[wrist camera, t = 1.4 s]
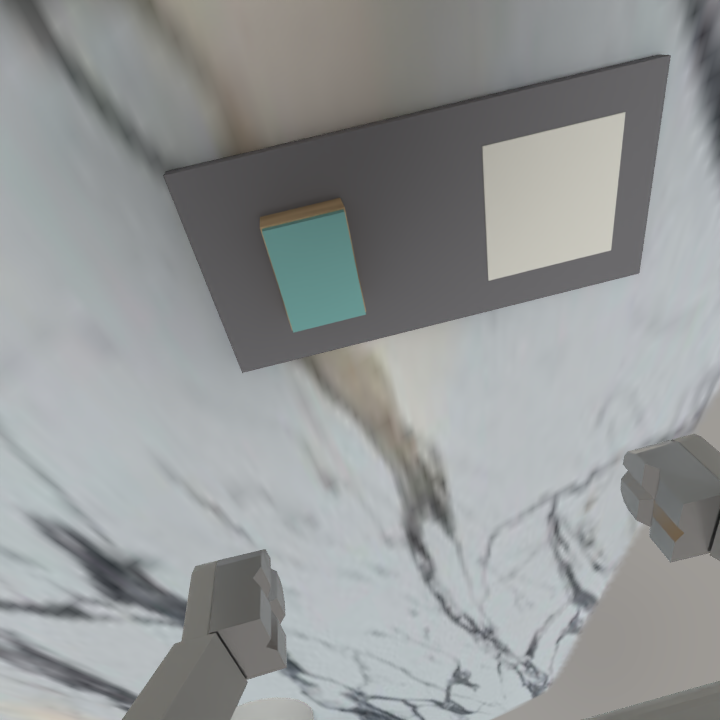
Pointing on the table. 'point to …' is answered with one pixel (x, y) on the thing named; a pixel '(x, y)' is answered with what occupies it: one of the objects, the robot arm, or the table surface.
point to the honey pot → (273, 710)
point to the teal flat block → (314, 264)
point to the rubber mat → (439, 207)
